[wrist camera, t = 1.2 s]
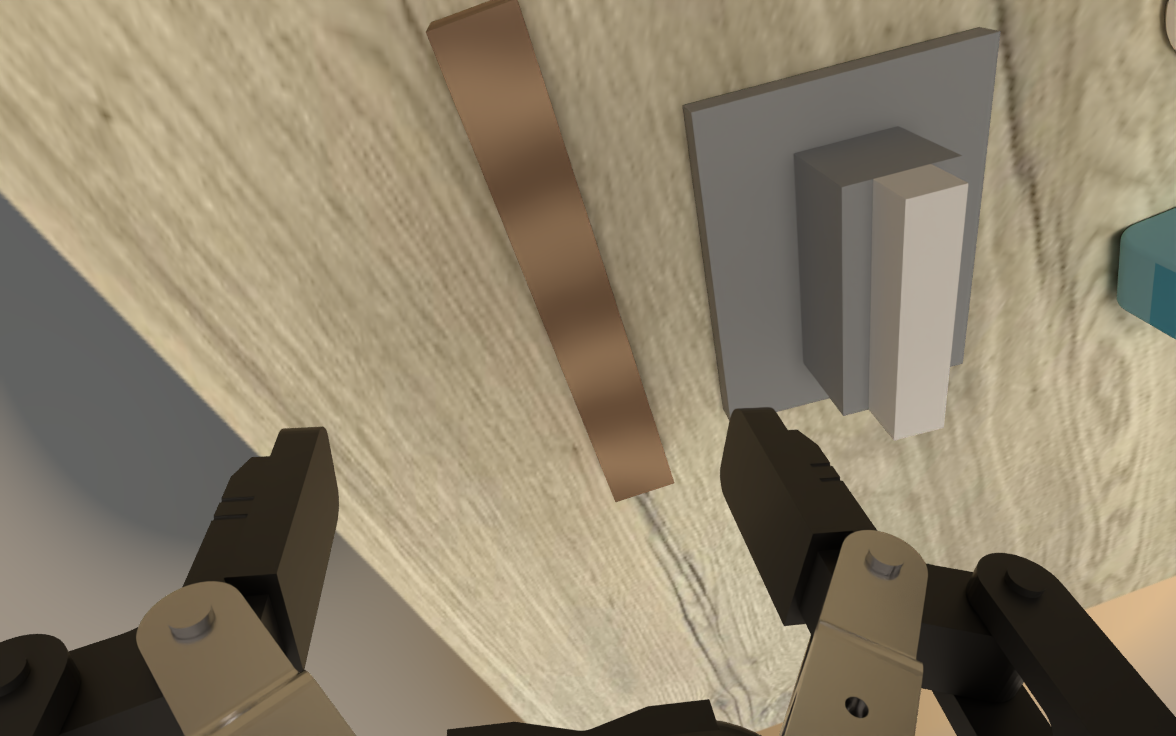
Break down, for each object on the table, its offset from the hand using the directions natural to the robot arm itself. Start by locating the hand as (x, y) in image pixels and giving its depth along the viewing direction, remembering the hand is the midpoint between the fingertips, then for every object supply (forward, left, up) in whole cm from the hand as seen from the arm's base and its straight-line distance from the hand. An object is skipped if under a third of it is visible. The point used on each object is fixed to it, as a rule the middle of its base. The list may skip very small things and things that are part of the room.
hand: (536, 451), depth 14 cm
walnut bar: (-2, +7, -22) cm, 23 cm away
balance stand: (-16, +9, -21) cm, 28 cm away
